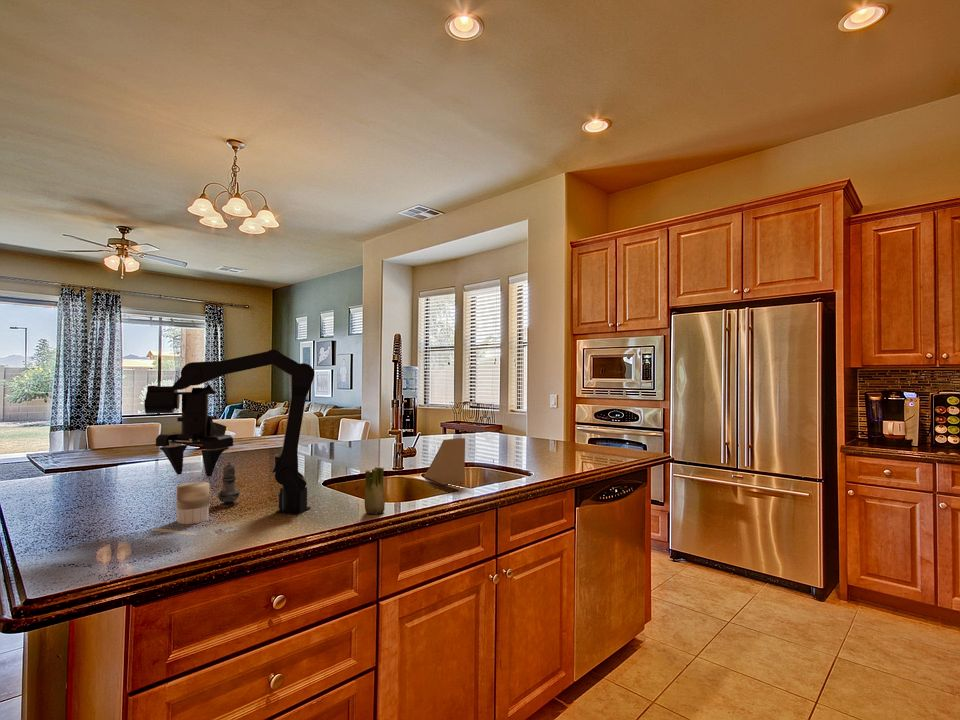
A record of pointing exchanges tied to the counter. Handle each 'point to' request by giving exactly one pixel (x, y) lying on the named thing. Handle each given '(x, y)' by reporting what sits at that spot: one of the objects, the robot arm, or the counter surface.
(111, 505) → the counter surface
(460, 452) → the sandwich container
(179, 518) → the bowl
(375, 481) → the fennel bulb
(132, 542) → the counter surface
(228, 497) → the salt shaker
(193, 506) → the beige rounded cylinder
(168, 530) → the mat
